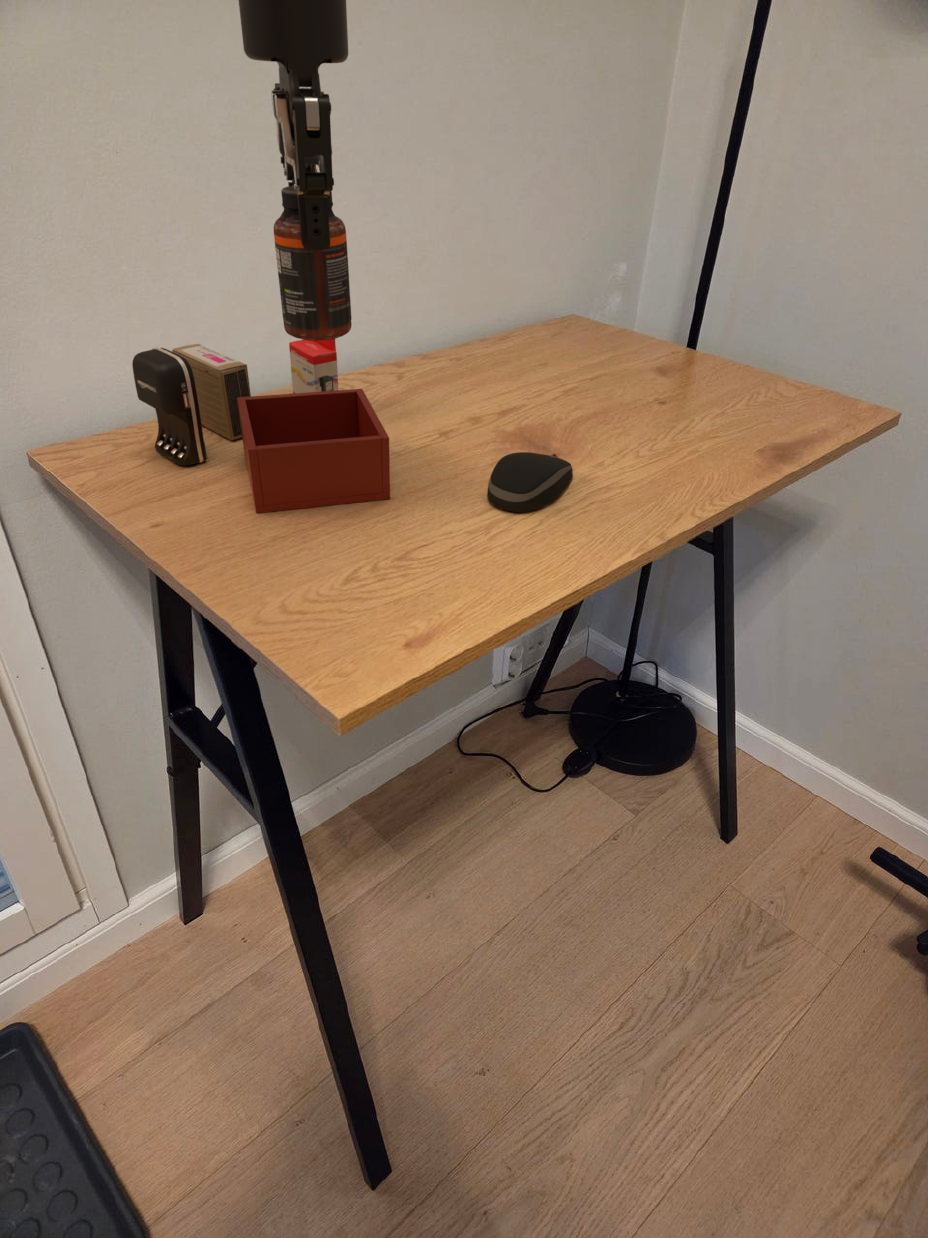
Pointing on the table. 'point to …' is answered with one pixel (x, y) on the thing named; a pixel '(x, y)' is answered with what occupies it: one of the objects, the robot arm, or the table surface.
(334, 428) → the tote
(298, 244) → the supplement bottle
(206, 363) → the ink box
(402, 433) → the table surface
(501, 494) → the computer mouse
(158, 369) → the battery charger
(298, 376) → the ink box
